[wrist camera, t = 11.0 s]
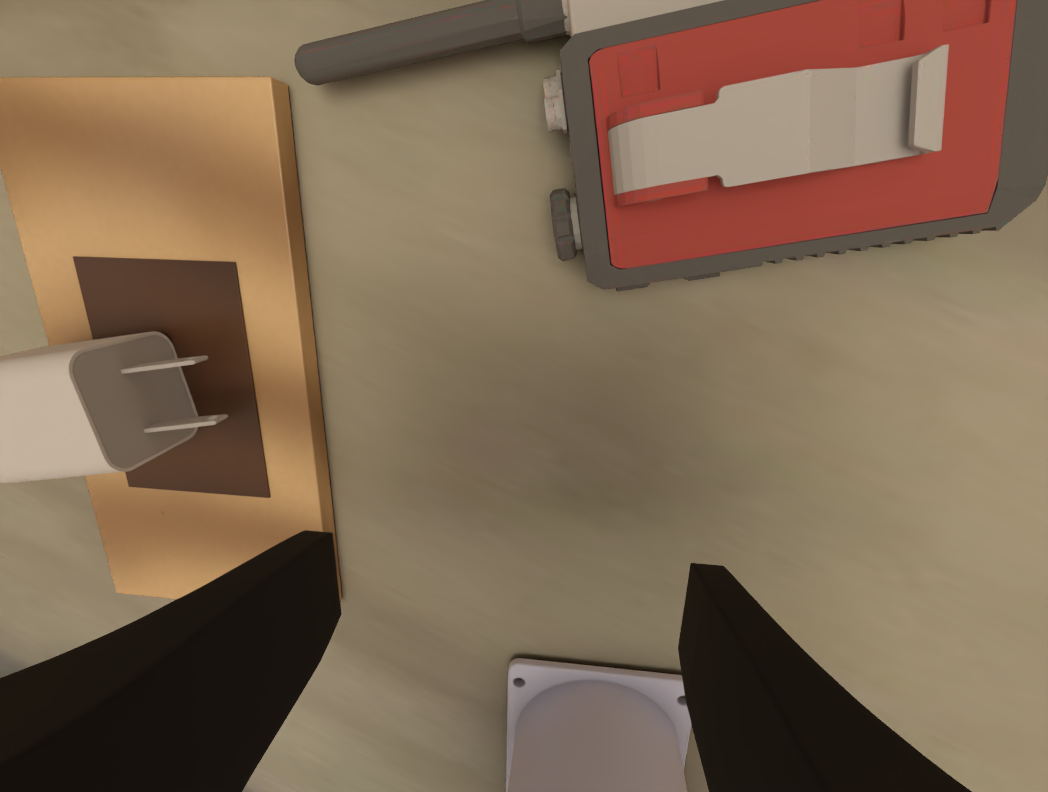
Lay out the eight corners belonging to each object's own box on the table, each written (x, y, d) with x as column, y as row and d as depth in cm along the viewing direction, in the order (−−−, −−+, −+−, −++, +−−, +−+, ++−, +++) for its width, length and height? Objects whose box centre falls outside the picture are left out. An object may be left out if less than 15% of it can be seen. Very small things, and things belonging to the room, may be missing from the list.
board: (342, 599, 23) (331, 617, 22) (134, 579, 24) (114, 594, 23) (288, 84, 17) (268, 75, 16) (8, 85, 17) (-29, 76, 16)
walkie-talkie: (1036, -136, 13) (310, 41, 16) (1251, -306, 9) (214, -23, 12) (999, 225, 16) (378, 319, 19) (1150, 226, 11) (320, 346, 14)
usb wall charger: (63, 342, 19) (-65, 371, 15) (232, 318, 18) (140, 342, 14) (105, 441, 20) (-5, 491, 16) (266, 424, 19) (188, 473, 15)
